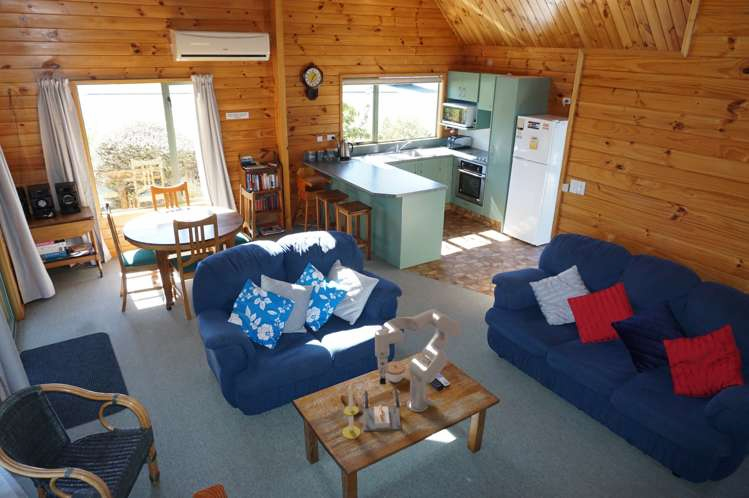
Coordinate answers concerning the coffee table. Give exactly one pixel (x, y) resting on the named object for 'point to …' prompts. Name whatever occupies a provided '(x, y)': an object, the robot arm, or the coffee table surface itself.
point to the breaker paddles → (380, 412)
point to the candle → (351, 418)
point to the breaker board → (372, 425)
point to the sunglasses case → (346, 402)
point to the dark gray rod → (397, 399)
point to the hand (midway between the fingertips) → (382, 378)
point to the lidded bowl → (395, 371)
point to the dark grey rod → (366, 400)
